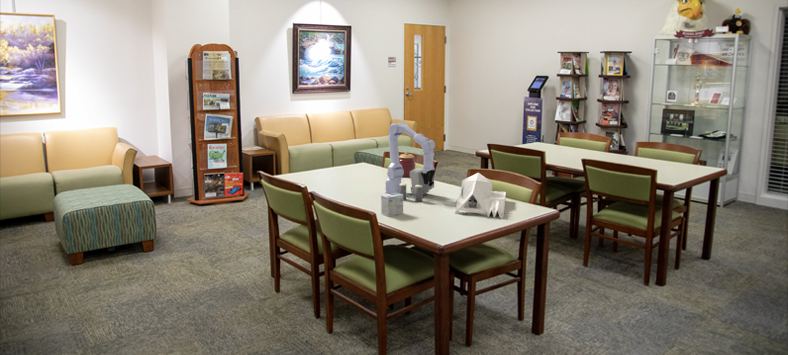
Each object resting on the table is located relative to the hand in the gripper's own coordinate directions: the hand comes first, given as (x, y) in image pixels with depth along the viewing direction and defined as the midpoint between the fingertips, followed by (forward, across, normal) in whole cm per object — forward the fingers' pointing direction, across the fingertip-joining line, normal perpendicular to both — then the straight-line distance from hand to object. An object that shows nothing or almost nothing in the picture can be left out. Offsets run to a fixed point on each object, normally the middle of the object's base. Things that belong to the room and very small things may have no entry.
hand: (428, 183), depth 340 cm
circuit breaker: (+9, +10, +6) cm, 15 cm away
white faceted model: (+11, -7, -36) cm, 38 cm away
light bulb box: (+10, -40, +7) cm, 41 cm away
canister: (+10, +61, +37) cm, 72 cm away
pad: (+10, +2, +8) cm, 13 cm away
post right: (+10, -7, +4) cm, 12 cm away
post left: (+10, -6, +14) cm, 18 cm away
